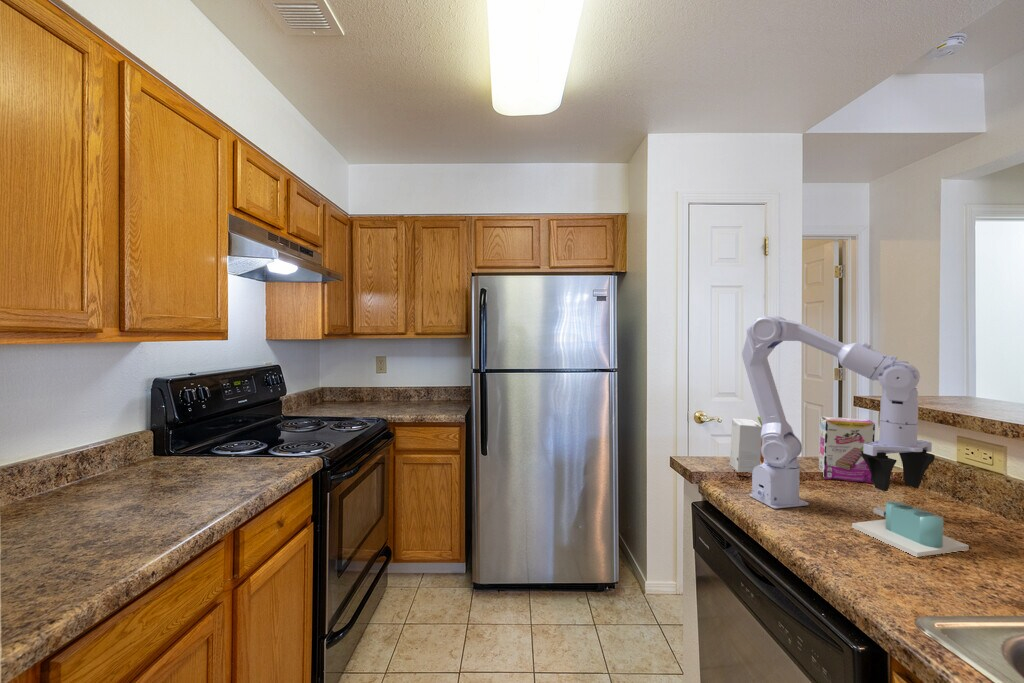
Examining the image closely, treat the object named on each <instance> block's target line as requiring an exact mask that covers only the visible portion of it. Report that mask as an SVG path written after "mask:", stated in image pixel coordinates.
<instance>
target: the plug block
mask: <svg viewBox="0 0 1024 683" xmlns="http://www.w3.org/2000/svg"><path fill="white" fill-rule="evenodd" d="M873 513H874V514H876V515H879V516H881V517H884V518H885V519H886V523H885V528H886V529H887V530H889V531H891V532H894V533H896V534H898V535H901V536H903V537H905V538H908V539H910V540H912V541H915V542H917V543H919V544H922V545H925V546H928V547H934V548H941V547H943V535H944V517H942V516H940V515H937V514H935V513H932V512H929V511H927V510H924V509H921V508H918V507H915V506H912V505H910V504H907V503H905V502H904V503H903V502H900V501H894V500H893V501H890V500H888V501H885V507H884V506H876V507H873Z"/></svg>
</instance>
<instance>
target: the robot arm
mask: <svg viewBox="0 0 1024 683" xmlns="http://www.w3.org/2000/svg"><path fill="white" fill-rule="evenodd" d="M783 342H801V343H803V344H805V345H808V346H810V347H813V348H815V349H817V350H818V351H819V350H820V351H822V352H824V353H827V354H829V355H830V356H834V357H836V358H837V359H838V362H839V365H840V366H841V367H843V368H845V369H848V370H849V371H850V372H851V371H852V372H854V373H856V374H858V375H861V376H862V377H865V378H867V379H869V380H871V381H878V382H879V385H880V386H881V397H880V400H879V401H880V402H879V403H880V405H879V406H880V408H879V409H880V410H879V438H878V440H874V442H872V443H868V444H864V446H863V451H862V452H861V456H862V457H863V459H864V460H865V462H866V464H867V466H868V468H869V470H870V472H871V475H872V479H873V486H874V489H878V490H880V491H883V492H888V491H889V489H890V485H891V477H892V476H891V475H892V471H893V468H894V467H895V465H896V464H897V462H898V460H897V459H894V458H890V457H889V456H888V455H889V454H890V455H891V454H898V455H899V457H900V459H901V464H902V469H903V470H902V471H903V481H904V485H905V486H908V487H911V488H914V489H919V487H920V485H921V482H922V480H923V477H924V475H925V472H926V471H927V469H928V468H929V467H930V465H931V464H932V463H933V462H934V461H935V458H936V456H935V454H932V453H930V452H932V446H933V445H932V442H931V441H927V440H924V439H923V440H922V439H918V428H919V427H918V422H919V399H918V396H919V392H918V388H917V386H918V384H919V382H920V381H921V375H920V371H919V370H918V369H917V368H916V367H915V366H914V365H913V364H910V362H908V361H905V360H897V359H898V356H895V355H893V354H891V355H890V356H889V355H887V354H886V353H885V354H884V353H882V352H881V351H877V350H876V349H874V348H871V347H872V345H871V344H869V343H866V342H863V343H862V344H861V343H860V342H853V343H849V344H848V343H847V344H846V343H844V342H841V341H840V340H838V339H834V338H832V337H831V336H828V335H827V334H824V333H822V332H820V331H817V329H814V328H812V327H809V326H807V325H805V324H803V323H800V322H797V321H794V320H790V319H789V320H788V319H786V318H784V317H781V316H768V315H764V316H760V317H757V318H756V319H754V320H753V322H752V323H751V324H750V325H749V327H747V329H746V338H745V341H744V344H743V349H742V352H741V357H742V360H743V364H744V367H745V370H746V373H747V378H748V381H749V384H750V387H751V391H752V394H753V398H754V401H755V404H756V407H757V411H758V415H759V417H760V419H761V422H762V426H761V427H762V431H761V438H762V447H761V453H762V456H763V458H764V462H763V463H762V462H761V463H760V465H758V466H756V467H755V468H754V469H753V472H752V477H751V480H752V481H751V493H749V497H751V498H753V499H754V500H757V501H758V502H760V503H762V504H764V505H766V506H768V507H770V508H772V509H785V508H796V507H804V506H805V507H806V506H809V504H810V503H809V502H807V501H805V500H803V499H800V468H801V467H800V462H799V461H798V458H797V457H799V456H800V454H801V453H802V450H803V446H802V442H801V441H800V438H798V437H797V436H796V434H795V433H794V429H793V427H792V426H791V425H790V424H789V422H788V421H787V420H786V419H787V418H786V415H785V413H784V412H785V411H784V409H783V405H782V402H781V400H780V395H779V392H778V389H777V386H776V385H777V384H776V382H775V379H774V376H773V373H772V370H771V366H770V362H769V359H768V357H769V356H770V354H771V353H772V351H774V349H775V348H776V346H778V345H780V344H781V343H783ZM887 454H888V455H887Z"/></svg>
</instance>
